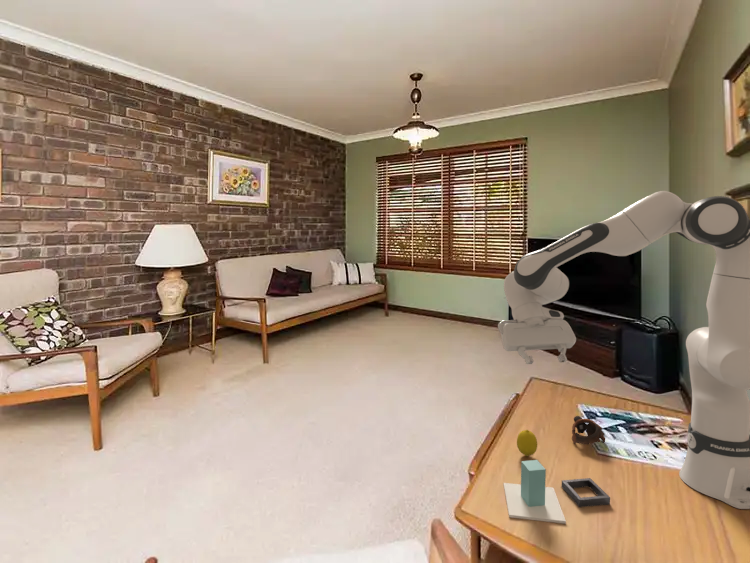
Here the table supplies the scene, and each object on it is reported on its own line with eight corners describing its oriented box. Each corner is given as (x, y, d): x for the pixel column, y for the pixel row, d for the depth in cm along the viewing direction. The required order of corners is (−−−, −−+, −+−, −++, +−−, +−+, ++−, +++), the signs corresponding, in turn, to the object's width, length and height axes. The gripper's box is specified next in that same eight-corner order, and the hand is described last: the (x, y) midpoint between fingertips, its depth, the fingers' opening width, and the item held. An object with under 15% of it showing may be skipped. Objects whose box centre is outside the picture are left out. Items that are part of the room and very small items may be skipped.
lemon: (538, 462, 112) (539, 435, 111) (518, 460, 113) (518, 433, 112) (535, 451, 118) (535, 426, 117) (515, 450, 119) (515, 424, 118)
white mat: (553, 489, 100) (553, 487, 100) (565, 523, 88) (565, 521, 88) (503, 484, 102) (503, 482, 102) (509, 517, 91) (509, 514, 91)
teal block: (536, 494, 98) (537, 459, 96) (544, 505, 94) (545, 469, 93) (520, 495, 97) (521, 461, 96) (528, 506, 93) (529, 470, 92)
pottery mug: (615, 449, 119) (609, 430, 116) (586, 463, 119) (580, 445, 116) (588, 421, 130) (582, 404, 127) (562, 434, 130) (556, 417, 127)
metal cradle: (589, 484, 102) (590, 478, 101) (609, 504, 94) (610, 497, 94) (561, 487, 101) (561, 480, 101) (579, 507, 93) (579, 500, 93)
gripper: (499, 314, 113) (513, 358, 104) (567, 311, 115) (587, 354, 106) (492, 326, 118) (506, 369, 109) (558, 323, 120) (577, 365, 111)
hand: (546, 362), depth 108 cm, fingers open, 8 cm apart
